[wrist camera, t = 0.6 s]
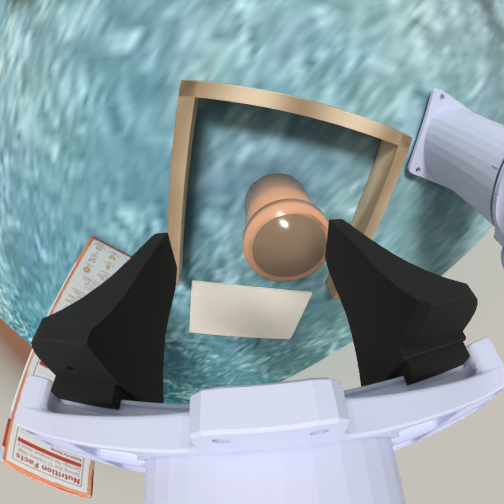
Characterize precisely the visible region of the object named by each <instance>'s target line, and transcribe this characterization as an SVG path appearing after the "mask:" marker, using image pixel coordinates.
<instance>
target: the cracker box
mask: <svg viewBox="0 0 504 504" xmlns="http://www.w3.org/2000/svg"><path fill="white" fill-rule="evenodd" d="M130 258H131V257H130V256H129V255H127V254H125V253H123V252H121V251H119V250H117V249H115V248H113V247H111V246H109V245H108V244H106V243H104V242H102V241H100V240H98V239H96V238H94V237H91V238H90V240H89V241H88V243H87V245H86V246H85V248H84V249H83V251H82V253H81V254H80V256H79V258H78V259H77V261H76V263H75V264H74V266H73V268H72V269H71V271H70V273H69V275H68V277H67V278H66V280H65V282H64V284H63V286H62V288H61V290H60V291H59V293H58V295H57V297H56V299H55V301H54V303H53V305H52V307H51V309H50V311H49V313H48V315H47V316H49V315H51V314H53V313H56V312H58V311H60V310H62V309H64V308H65V307H67V306H69V305H71V304H72V303H74V302H76V301H77V300H79V299H81V298H82V297H84V296H85V295H87V294H88V293H89V292H91V291H92V290H94V289H95V288H97V287H98V286H99V285H101V284H102V283H103V282H104V281H106V280H107V279H108V278H109V277H111V276H112V275H113V274H114V273H115V272H116V271H117V270H118V269H119V268H121V267H122V266H123V265H124V264H125V263H126V262H127V261H128V260H129V259H130ZM29 375H35V376H39V377H43V378H47V379H49V380H51V381H53V382H54V379H55V376H56V375H55V374H53V373H52V371H51V370H50V369H49V368H48V367H47V366H46V365H45V364H44V363H43V362H42V361H41V360H40V359H39V358H38V357H37V355H36V354H35V352H34V350H33V348H32V351H31V353H30V356H29V358H28V361H27V364H26V366H25V369H24V372H23V374H22V377H21V380H20V383H19V386H18V389H17V392H16V395H15V398H14V401H13V405H12V408H11V412H10V415H9V419H8V422H7V427H6V431H5V435H4V440H3V444H2V451H1V461H2V462H4V463H5V464H7V465H8V466H10V467H12V468H13V469H15V470H17V471H19V472H21V473H23V474H25V475H27V476H29V477H31V478H33V479H34V480H37V481H39V482H41V483H43V484H45V485H48V486H50V487H53V488H55V489H58V490H60V491H63V492H66V493H69V494H72V495H77V496H81V497H87V498H91V497H92V489H93V474H94V464H95V461H93V460H90V459H87V458H84V457H81V456H77V455H74V454H72V453H69V452H66V451H63V450H60V449H57V448H55V447H52V446H50V445H48V444H46V443H45V442H43V441H41V440H39V439H38V438H36V437H34V436H33V435H31V434H29V433H28V432H26V431H25V430H23V429H22V428H20V427H19V426H17V425H16V424H15V420H16V416H17V413H18V409H19V406H20V402H21V399H22V396H23V393H24V390H25V387H26V384H27V381H28V378H29Z"/></svg>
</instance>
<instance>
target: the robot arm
mask: <svg viewBox="0 0 504 504" xmlns="http://www.w3.org/2000/svg"><path fill="white" fill-rule="evenodd" d="M440 95H441V99H440ZM407 168H408V171H409V172H410V173H412V174H414V175H417V176H419V177H422V178H425V179H427V180H430V181H432V182H435V183H437V184H439V185H442V186H444V187H446V188H449V189H451V190H453V191H454V192H455V193H456V194H458V195H459V196H460V197H461V198H463V199H464V200H465V201H466V202H467V203H469V204H470V205H471V206H472V207H473V208H474V209H476V210H477V211H478V212H479V213H480V214H481V215H482V216H484V217H485V218H486V219H487V220H488V221H489V222H490V223H491V224H492V225H493V226H494V227H495V234H494V238H495V239H496V240H497V241H498V242H499V243H500V244H501V245H502V247H503V248H502V251H501V261H502V265H503V268H504V126H503V125H501V124H499V123H497V122H494V121H492V120H490V119H487V118H485V117H483V116H480V115H478V114H475V113H473V112H472V111H470V110H469V109H468V108H466V107H465V106H464V105H462V104H461V103H459V102H458V101H456V100H455V99H454V98H452V97H451V96H449V95H448V94H446V93H444V92H443V91H441V90H440V89H437V88H433V89H432V91H431V95H430V99H429V102H428V106H427V109H426V113H425V116H424V119H423V123H422V126H421V129H420V132H419V135H418V138H417V141H416V144H415V147H414V150H413V153H412V156H411V158H410V161H409V164H408V167H407ZM417 168H418V170H417V171H416V169H417ZM325 259H326V262H327V266H328V270H329V273H330V276H331V279H332V281H333V283H334V286H335V288H336V291H337V293H338V295H339V298H340V300H341V303H342V305H343V307H344V310H345V312H346V315H347V318H348V322H349V325H350V329H351V333H352V337H353V342H354V346H355V351H356V356H357V361H358V367H359V373H360V381H361V387H358V388H354V389H349V390H344V391H343V387H342V384H341V383H340V382H338V381H335V380H332V379H329V378H309V379H303V380H294V381H286V382H277V383H266V384H254V385H239V386H220V387H213V388H206V389H203V390H201V391H199V392H197V393H195V394H193V395H192V396H190V404H166V403H164V400H163V360H164V344H165V334H166V327H167V323H168V318H169V314H170V309H171V305H172V300H173V296H174V292H175V287H176V278H177V265H176V261H175V258H174V254H173V250H172V247H171V243H170V239H169V235H168V233H159V234H154V235H153V236H152V237H151V238H150V239H149V240H148V241H147V242H146V243H145V244H144V245H143V246H142V247H141V248H140V249H139V250H138V251H137V252H136V253H135V254H134V255H133V256H132V257H131V258H130V259H129V260H128V261H127V262H126V263H125V264H124V265H123V266H122V267H121V268H119V269H118V270H117V271H116V272H115V273H114V274H113V275H112V276H111V277H109V278H108V279H107V280H106V281H104V282H103V283H102V284H101V285H99V286H98V287H97V288H95V289H94V290H92V291H91V292H89V293H88V294H87V295H85V296H84V297H82V298H81V299H79V300H77V301H76V302H74V303H72V304H71V305H69V306H67V307H65V308H64V309H62V310H60V311H58V312H56V313H53V314H51V315H49V316H47V317H45V318H43V319H42V321H41V323H40V325H39V327H38V329H37V331H36V334H35V336H34V338H33V340H32V348H33V350H34V352H35V354H36V355H37V357H38V358H39V359H40V360H41V361H42V362H43V363H44V364H45V365H46V366H47V367H48V368H49V369H50V370H51V371H52V373H53V374H55V375H56V376H55V379H54V382H53V381H51V380H49V379H47V378H43V377H39V376H35V375H29V378H28V381H27V384H26V387H25V390H24V393H23V396H22V399H21V402H20V406H19V409H18V413H17V416H16V420H15V424H16V425H17V426H19V427H20V428H22V429H23V430H25V431H26V432H28V433H29V434H31V435H33V436H34V437H36V438H38V439H39V440H41V441H43V442H45V443H46V444H48V445H50V446H52V447H55V448H57V449H60V450H63V451H66V452H69V453H72V454H74V455H77V456H81V457H84V458H87V459H90V460H93V461H97V462H100V463H104V464H107V465H111V466H114V467H119V468H123V469H127V470H131V471H136V472H141V473H145V488H144V504H405V499H404V494H403V489H402V484H401V479H400V475H399V471H398V466H397V462H396V458H395V454H394V451H396V450H398V449H401V448H403V447H406V446H408V445H411V444H413V443H415V442H418V441H420V440H422V439H424V438H426V437H428V436H430V435H433V434H435V433H437V432H439V431H441V430H443V429H445V428H447V427H448V426H450V425H452V424H454V423H456V422H458V421H460V420H462V419H463V418H465V417H467V416H469V415H470V414H472V413H474V412H476V411H477V410H479V409H480V408H482V407H483V406H484V405H485V404H486V403H488V402H489V401H490V400H491V399H493V398H494V397H495V396H496V395H497V394H498V393H499V392H501V391H502V390H503V389H504V365H503V363H502V362H501V360H500V358H499V356H498V354H497V352H496V350H495V348H494V347H493V345H492V343H491V341H490V339H489V337H485V338H482V339H480V340H478V341H475V342H473V343H471V344H470V345H468V346H467V347H466V346H465V345H464V343H463V341H465V339H466V336H465V335H464V333H463V330H464V329H465V327H466V326H467V324H468V323H469V321H470V320H471V318H472V316H473V315H474V313H475V311H476V307H477V298H476V296H475V295H474V293H473V292H472V291H471V289H470V288H469V286H468V285H467V284H465V283H462V282H458V281H455V280H451V279H447V278H444V277H442V276H439V275H436V274H433V273H431V272H429V271H426V270H424V269H422V268H419V267H417V266H415V265H413V264H411V263H409V262H407V261H405V260H403V259H401V258H400V257H398V256H396V255H394V254H393V253H391V252H389V251H388V250H386V249H385V248H383V247H381V246H380V245H378V244H377V243H375V242H374V241H373V240H371V239H370V238H368V237H367V236H365V235H364V234H363V233H361V232H360V231H359V230H357V229H356V228H354V227H353V226H352V225H350V224H349V223H347V222H346V221H344V220H342V219H335V220H329V225H328V235H327V243H326V252H325Z"/></svg>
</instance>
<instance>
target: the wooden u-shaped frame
mask: <svg viewBox="0 0 504 504" xmlns="http://www.w3.org/2000/svg"><path fill="white" fill-rule="evenodd" d="M199 98H207V99H216V100H224V101H231V102H238V103H244V104H250V105H256V106H262V107H267V108H272V109H277V110H282V111H286V112H291V113H295V114H299V115H303V116H307V117H311V118H315V119H319V120H323V121H326V122H330V123H333V124H337V125H340V126H344V127H347V128H350V129H353V130H356V131H359V132H362V133H365V134H368V135H371V136H374V137H377V138H380V139H382V140H381V144H380V147H379V150H378V153H377V155H376V158H375V161H374V164H373V167H372V170H371V173H370V175H369V178H368V181H367V184H366V186H365V189H364V192H363V194H362V197H361V200H360V202H359V205H358V207H357V210H356V212H355V215H354V217H353V220H352V222H351V225H352V226H353V227H354V228H356V229H357V230H359V231H360V232H361V233H363V234H364V235H365V236H367V237H368V238H370V239H371V240H372V239H373V236H374V234H375V232H376V230H377V228H378V225H379V223H380V221H381V219H382V216H383V214H384V212H385V209H386V207H387V205H388V202H389V200H390V198H391V195H392V193H393V190H394V188H395V185H396V183H397V180H398V177H399V175H400V172H401V170H402V167H403V164H404V161H405V159H406V156H407V153H408V150H409V147H410V144H411V141H412V137H410V136H408V135H406V134H404V133H402V132H400V131H398V130H396V129H394V128H391V127H389V126H386V125H384V124H381V123H379V122H376V121H373V120H371V119H368V118H365V117H362V116H359V115H357V114H354V113H351V112H348V111H344V110H341V109H338V108H335V107H332V106H328V105H325V104H321V103H318V102H314V101H310V100H306V99H303V98H299V97H294V96H290V95H286V94H281V93H277V92H272V91H267V90H262V89H256V88H251V87H245V86H238V85H231V84H224V83H216V82H207V81H197V80H181V84H180V90H179V97H178V104H177V112H176V120H175V128H174V138H173V148H172V159H171V171H170V186H169V204H168V230H167V233H168V235H169V239H170V243H171V247H172V250H173V254H174V258H175V261H176V265H177V278H176V285H179V281H180V276H181V271H182V264H183V245H184V229H185V215H186V203H187V191H188V181H189V171H190V162H191V153H192V145H193V137H194V130H195V123H196V116H197V109H198V103H199ZM326 284H327V286H328V289H329V292H330V294H331V297H332V299H335V300H340V298H339V295H338V293H337V291H336V288H335V286H334V283H333V281H332V279H331V276H330V273H329V276H328V278H327V280H326Z"/></svg>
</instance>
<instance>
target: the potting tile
mask: <svg viewBox="0 0 504 504" xmlns="http://www.w3.org/2000/svg"><path fill="white" fill-rule="evenodd" d="M311 295H312V292H311V291H298V290H286V289H275V288H264V287H253V286H243V285H233V284H224V283H214V282H205V281H196V280H192V291H191V308H190V330H189V332H193V333H202V334H213V335H224V336H237V337H251V338H270V339H291V337H292V335H293V333H294V331H295V329H296V327H297V325H298V323H299V320H300V318H301V316H302V314H303V312H304V310H305V308H306V306H307V304H308V301H309V299H310V297H311Z"/></svg>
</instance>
